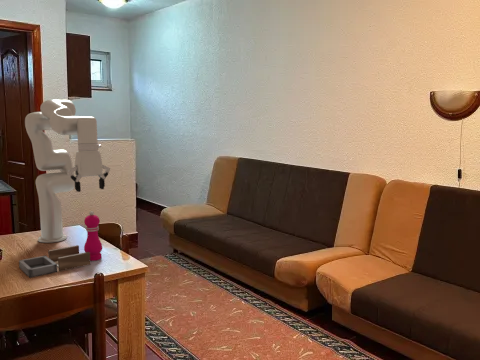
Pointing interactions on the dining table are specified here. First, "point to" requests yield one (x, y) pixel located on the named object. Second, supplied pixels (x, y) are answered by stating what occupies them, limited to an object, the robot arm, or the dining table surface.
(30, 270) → the tray
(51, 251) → the walled lane
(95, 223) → the pepper mill
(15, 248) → the dining table surface
